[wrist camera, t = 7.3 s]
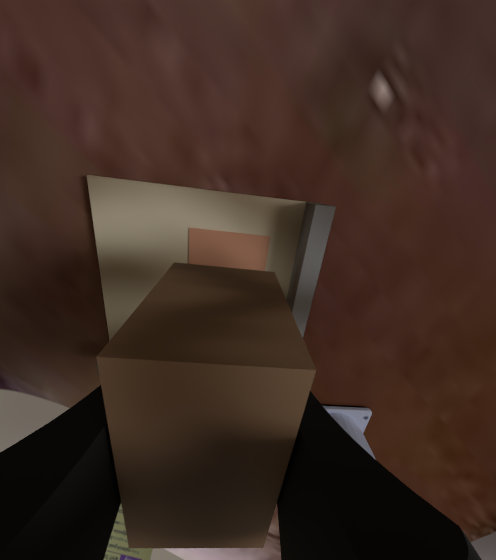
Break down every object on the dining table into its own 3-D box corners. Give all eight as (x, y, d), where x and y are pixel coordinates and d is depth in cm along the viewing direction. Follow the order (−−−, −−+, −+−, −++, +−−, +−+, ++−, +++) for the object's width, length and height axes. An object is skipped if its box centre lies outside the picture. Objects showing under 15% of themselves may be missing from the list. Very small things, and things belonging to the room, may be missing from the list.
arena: (284, 362, 21) (290, 385, 19) (115, 351, 20) (98, 375, 17) (320, 203, 16) (335, 206, 13) (92, 175, 14) (63, 173, 12)
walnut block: (274, 271, 10) (316, 370, 5) (252, 398, 13) (262, 547, 8) (174, 262, 10) (96, 356, 5) (174, 394, 13) (128, 548, 8)
